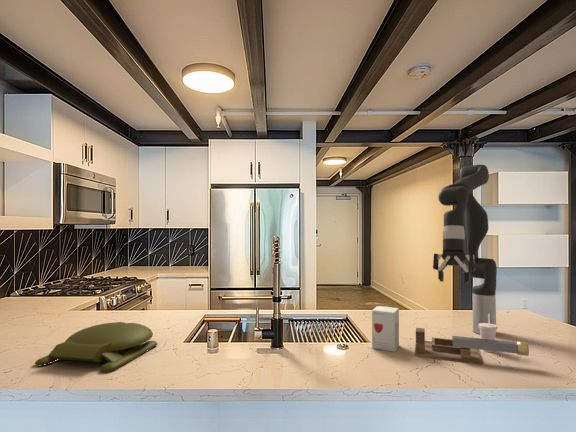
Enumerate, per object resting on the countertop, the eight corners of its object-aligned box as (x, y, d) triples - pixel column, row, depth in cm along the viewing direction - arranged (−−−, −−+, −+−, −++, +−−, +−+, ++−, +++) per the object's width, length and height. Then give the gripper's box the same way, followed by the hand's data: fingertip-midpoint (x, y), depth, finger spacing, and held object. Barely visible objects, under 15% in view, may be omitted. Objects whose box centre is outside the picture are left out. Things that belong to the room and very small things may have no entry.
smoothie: (500, 353, 133) (499, 316, 134) (481, 352, 135) (481, 315, 135) (494, 348, 140) (493, 312, 140) (476, 347, 141) (475, 311, 141)
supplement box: (371, 348, 140) (371, 309, 140) (377, 342, 147) (376, 305, 148) (395, 352, 135) (394, 312, 136) (399, 345, 143) (399, 307, 144)
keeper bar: (452, 345, 131) (452, 333, 132) (525, 353, 123) (525, 340, 123) (453, 349, 127) (452, 336, 128) (529, 357, 119) (528, 344, 119)
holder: (416, 342, 147) (415, 320, 147) (476, 348, 139) (475, 325, 139) (414, 355, 131) (414, 331, 132) (482, 364, 123) (481, 338, 123)
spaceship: (110, 375, 116) (110, 344, 116) (30, 367, 122) (31, 338, 122) (167, 341, 150) (167, 317, 150) (103, 337, 156) (103, 314, 156)
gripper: (476, 239, 133) (477, 284, 130) (437, 239, 142) (437, 281, 139) (471, 237, 127) (472, 283, 125) (430, 237, 136) (430, 280, 134)
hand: (453, 282), depth 132 cm, fingers open, 8 cm apart
